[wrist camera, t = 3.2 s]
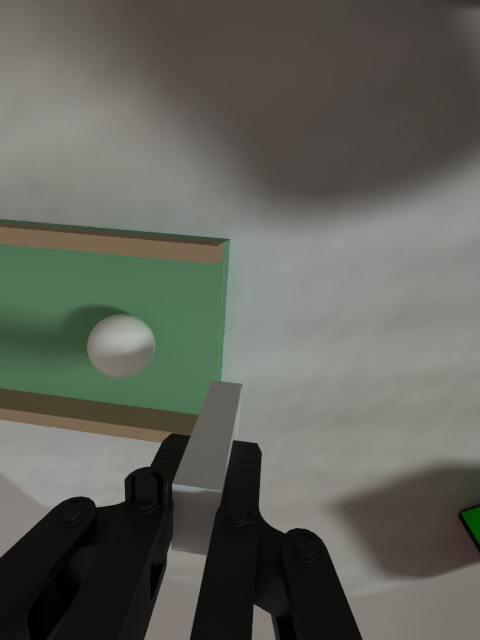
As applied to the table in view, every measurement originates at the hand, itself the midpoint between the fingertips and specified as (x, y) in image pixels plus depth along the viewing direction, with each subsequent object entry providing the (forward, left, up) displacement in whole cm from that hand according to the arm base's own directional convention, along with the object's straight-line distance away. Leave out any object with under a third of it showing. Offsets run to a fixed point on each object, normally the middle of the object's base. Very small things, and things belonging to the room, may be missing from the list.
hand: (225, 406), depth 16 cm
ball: (0, -8, -5) cm, 9 cm away
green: (0, -16, -10) cm, 18 cm away
